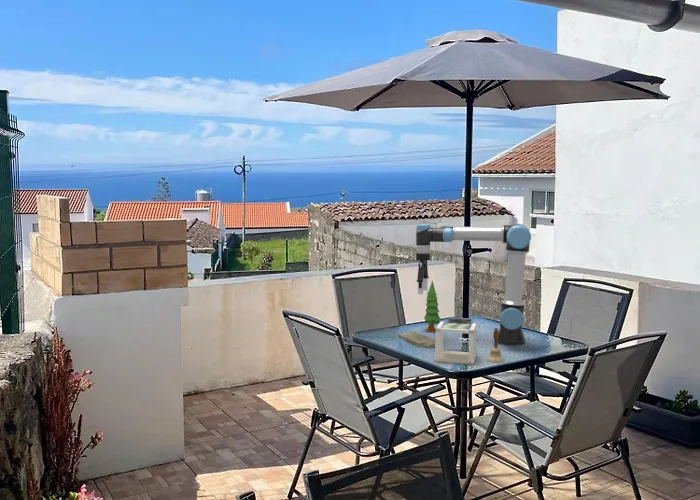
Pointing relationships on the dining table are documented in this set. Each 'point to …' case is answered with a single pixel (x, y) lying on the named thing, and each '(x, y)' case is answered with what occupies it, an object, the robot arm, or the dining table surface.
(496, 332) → the hand bell
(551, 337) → the dining table surface
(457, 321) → the trapdoor
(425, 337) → the stone slab
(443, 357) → the frame
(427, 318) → the decorative tree
